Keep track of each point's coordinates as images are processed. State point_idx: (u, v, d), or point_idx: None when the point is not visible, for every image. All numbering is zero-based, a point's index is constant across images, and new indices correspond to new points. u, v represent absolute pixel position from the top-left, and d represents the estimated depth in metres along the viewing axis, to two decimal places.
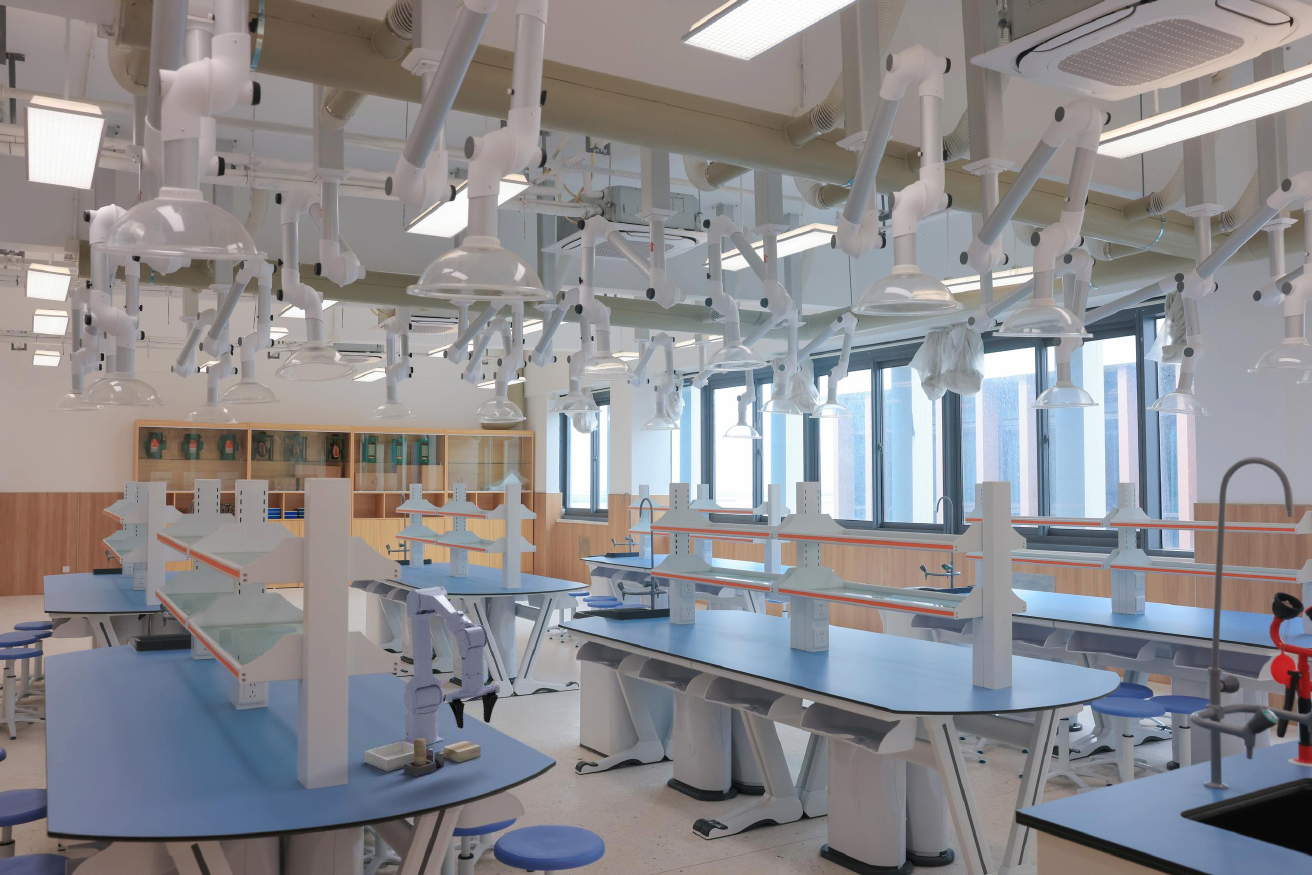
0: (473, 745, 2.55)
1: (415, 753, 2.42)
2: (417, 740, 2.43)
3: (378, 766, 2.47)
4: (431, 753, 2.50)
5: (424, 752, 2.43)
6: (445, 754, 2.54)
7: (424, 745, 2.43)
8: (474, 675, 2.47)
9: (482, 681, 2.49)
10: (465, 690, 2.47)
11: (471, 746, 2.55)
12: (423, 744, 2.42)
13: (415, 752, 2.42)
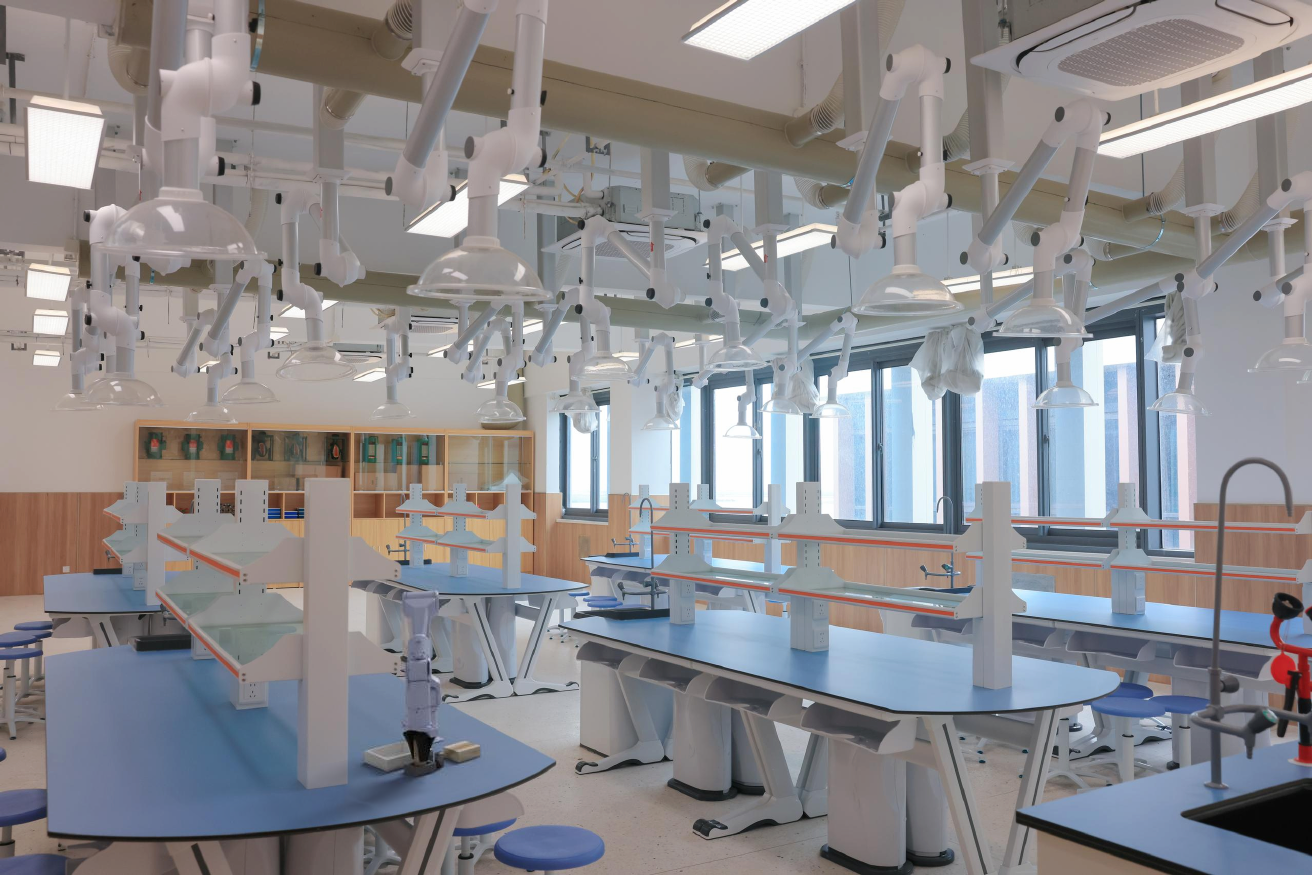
0: (473, 745, 2.55)
1: (415, 753, 2.42)
2: None
3: (378, 766, 2.47)
4: (431, 753, 2.50)
5: None
6: (445, 754, 2.54)
7: None
8: (407, 708, 2.42)
9: (415, 718, 2.41)
10: None
11: (471, 746, 2.55)
12: None
13: (415, 752, 2.42)
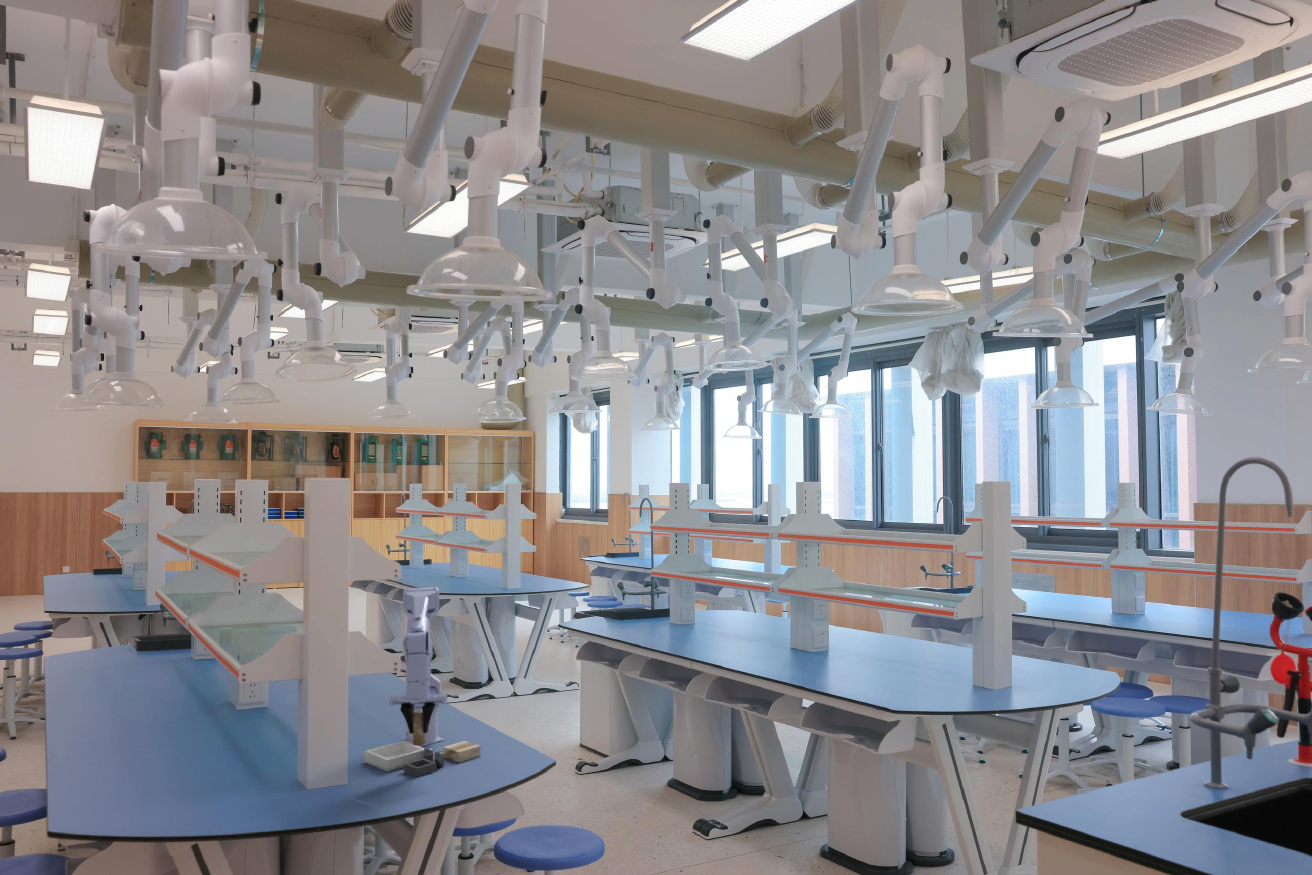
0: (473, 745, 2.56)
1: (418, 726, 2.42)
2: (417, 713, 2.43)
3: (378, 766, 2.47)
4: (431, 753, 2.50)
5: None
6: (445, 754, 2.54)
7: None
8: (412, 682, 2.41)
9: (422, 689, 2.42)
10: (406, 696, 2.43)
11: (471, 746, 2.55)
12: None
13: (418, 725, 2.42)
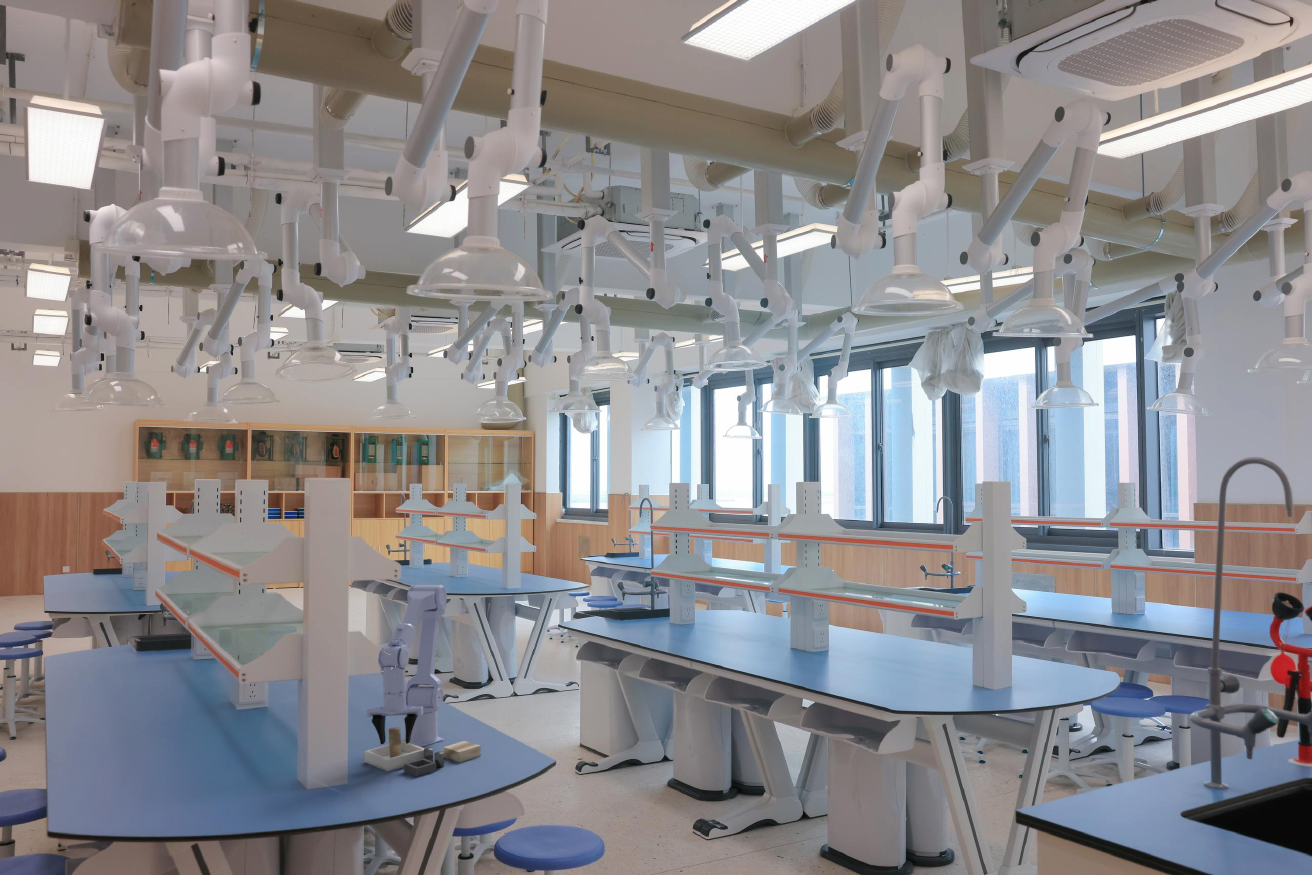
0: (473, 745, 2.56)
1: (394, 742, 2.50)
2: (393, 729, 2.51)
3: (378, 766, 2.47)
4: (431, 753, 2.50)
5: (400, 739, 2.52)
6: (445, 754, 2.54)
7: None
8: (388, 694, 2.49)
9: (398, 701, 2.50)
10: (383, 707, 2.51)
11: (471, 745, 2.55)
12: (400, 731, 2.52)
13: (394, 741, 2.50)
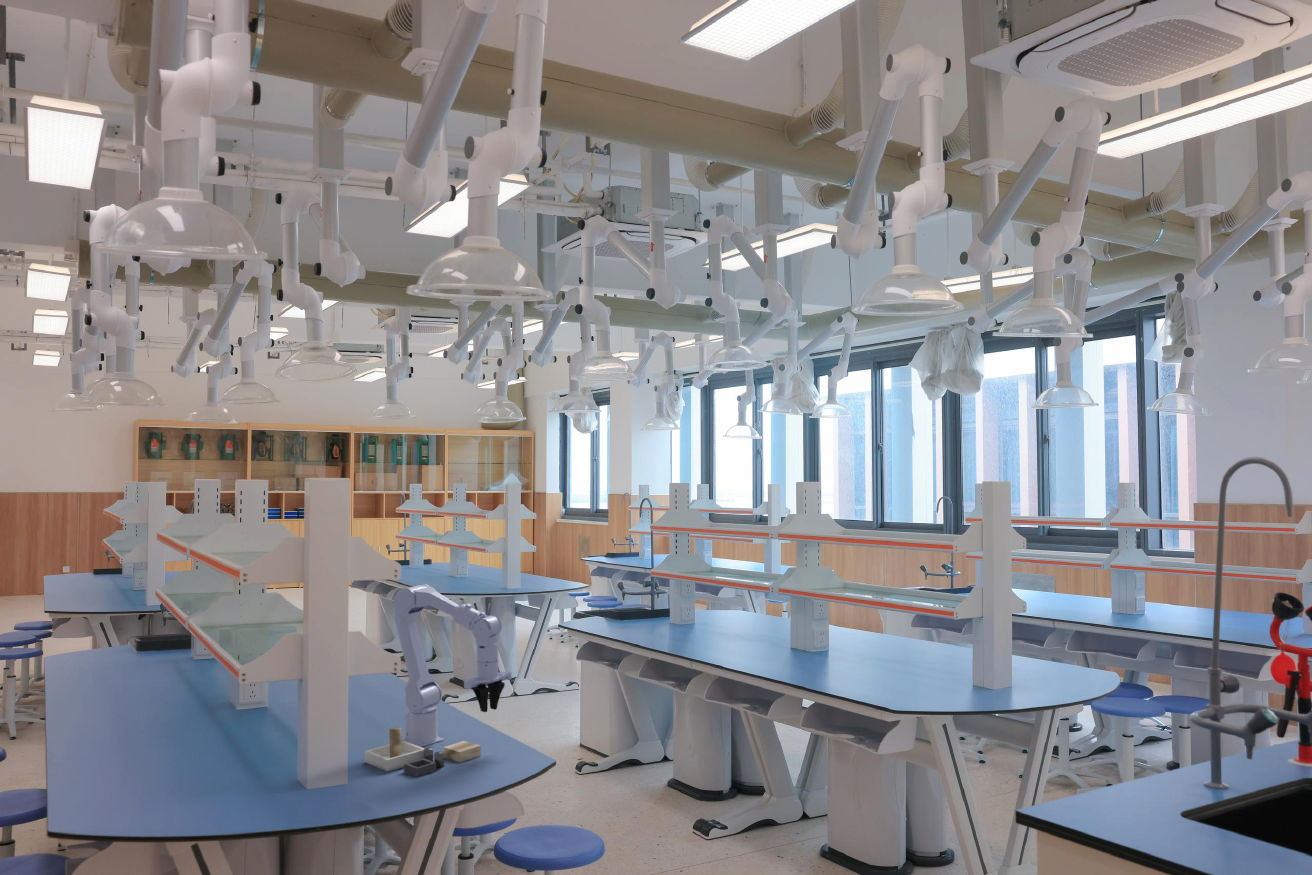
0: (473, 745, 2.56)
1: (394, 742, 2.50)
2: (394, 729, 2.51)
3: (378, 766, 2.47)
4: (431, 753, 2.50)
5: None
6: (445, 754, 2.54)
7: (400, 732, 2.52)
8: (491, 662, 2.59)
9: (497, 668, 2.61)
10: (482, 677, 2.59)
11: (471, 745, 2.55)
12: (400, 731, 2.52)
13: (394, 741, 2.50)
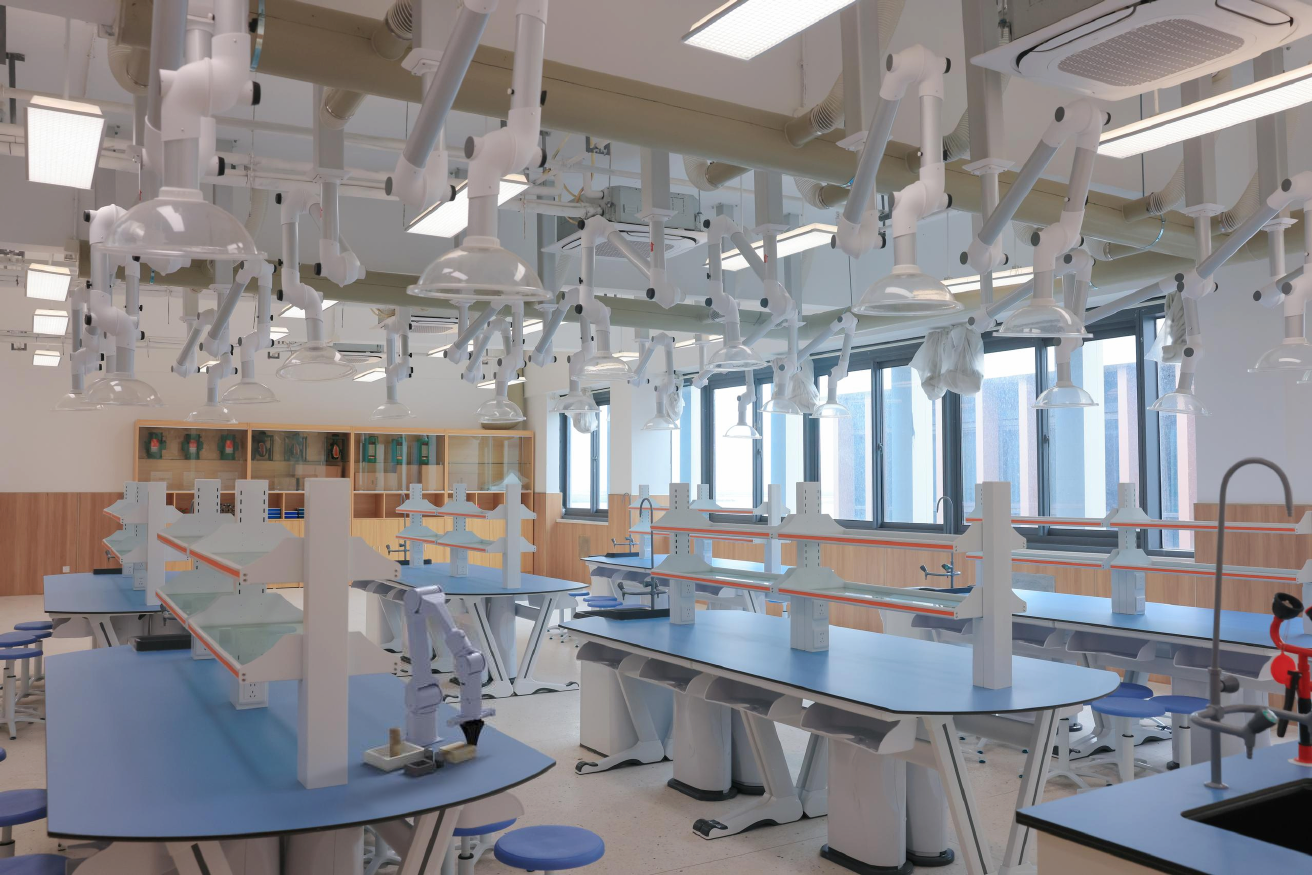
0: (468, 745, 2.55)
1: (394, 742, 2.50)
2: (394, 729, 2.51)
3: (378, 766, 2.47)
4: (431, 753, 2.50)
5: None
6: None
7: None
8: (474, 699, 2.55)
9: (481, 705, 2.57)
10: (465, 715, 2.55)
11: (467, 746, 2.54)
12: (400, 731, 2.52)
13: (394, 741, 2.50)
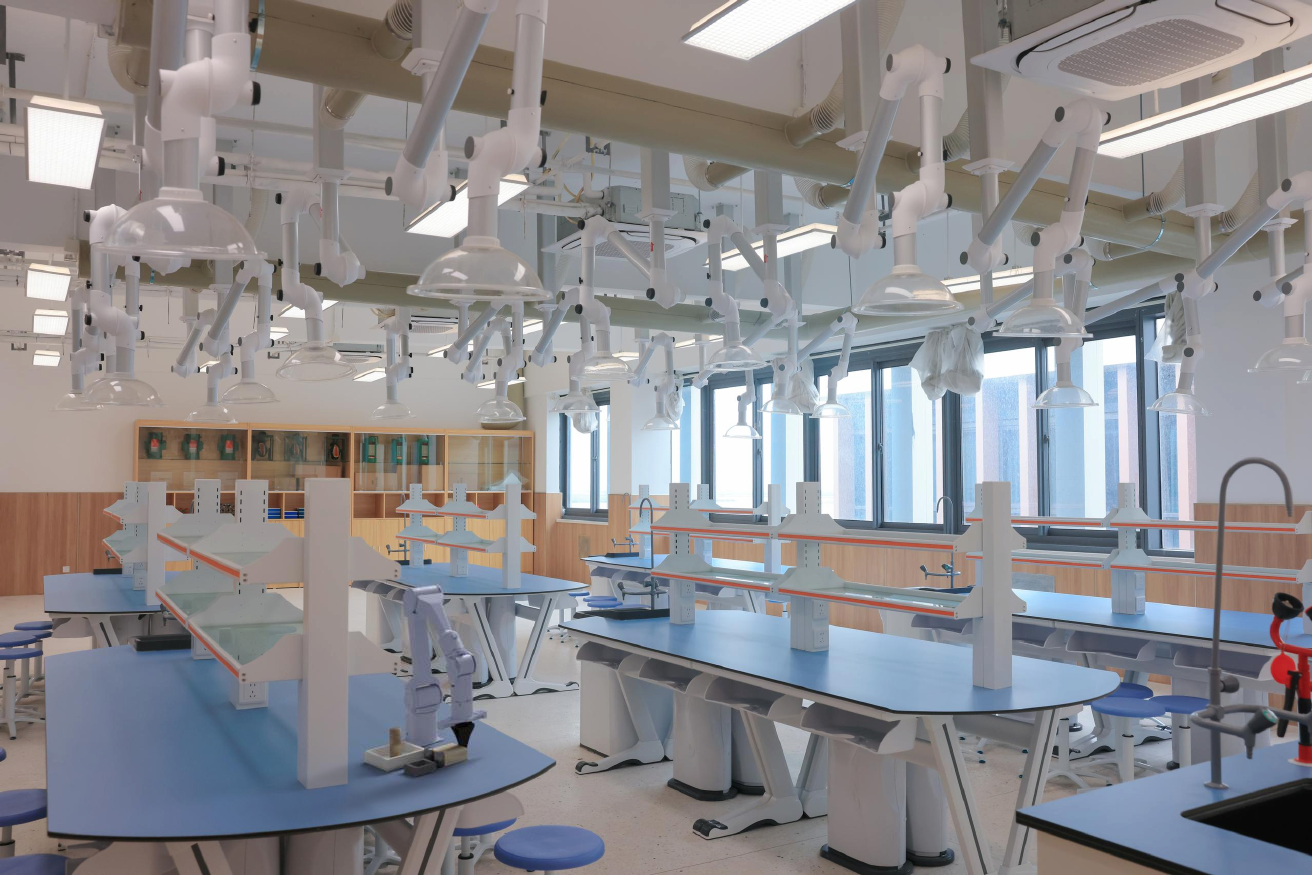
0: (459, 747, 2.53)
1: (394, 742, 2.50)
2: (394, 729, 2.51)
3: (378, 766, 2.47)
4: (431, 753, 2.50)
5: None
6: None
7: None
8: (465, 702, 2.53)
9: (472, 707, 2.55)
10: (456, 717, 2.53)
11: (458, 748, 2.52)
12: (400, 731, 2.52)
13: (394, 741, 2.50)
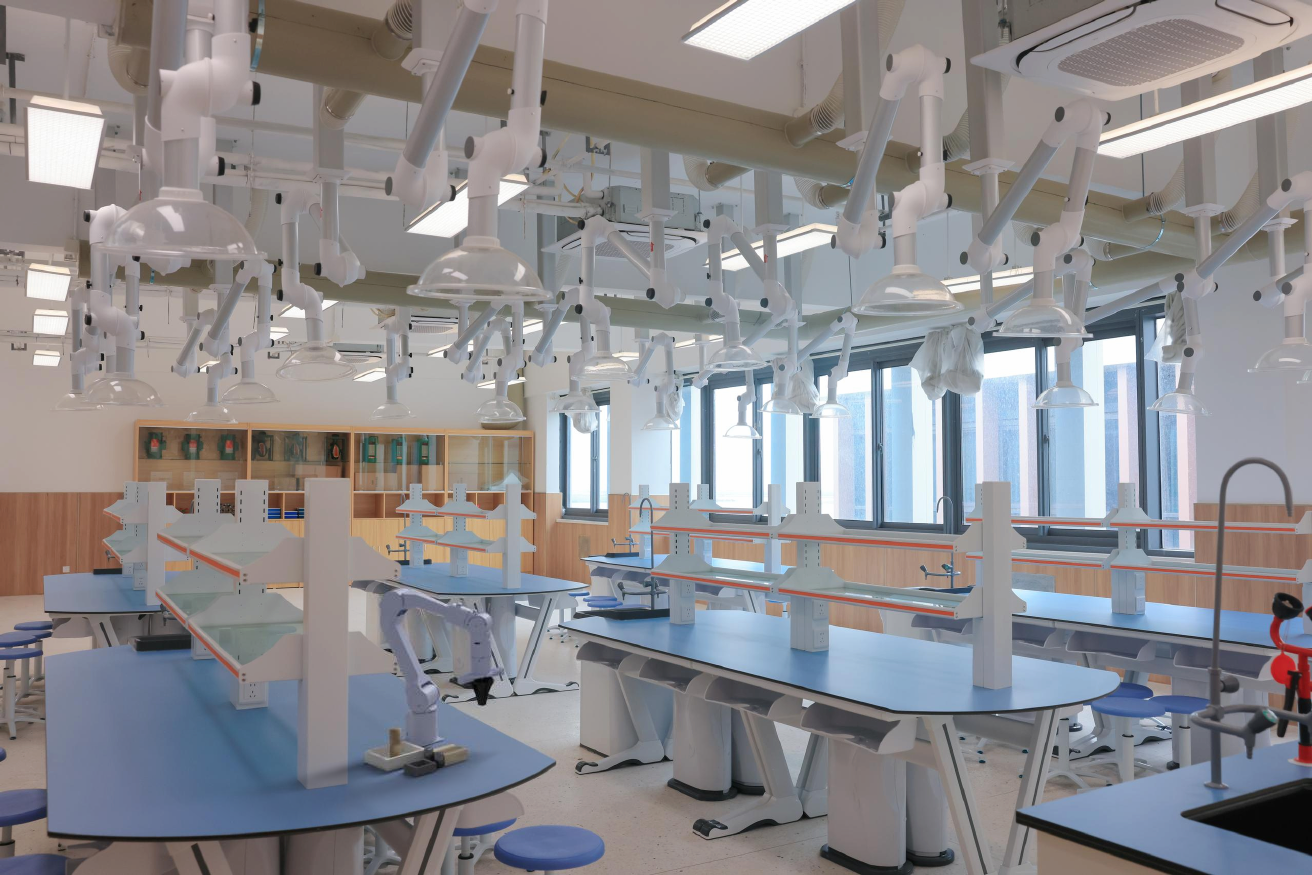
0: (460, 748, 2.53)
1: (394, 742, 2.50)
2: (394, 729, 2.51)
3: (378, 766, 2.47)
4: (431, 753, 2.50)
5: None
6: None
7: (400, 732, 2.52)
8: (484, 658, 2.65)
9: (490, 664, 2.67)
10: (475, 673, 2.65)
11: (458, 749, 2.52)
12: (400, 731, 2.52)
13: (394, 741, 2.50)
